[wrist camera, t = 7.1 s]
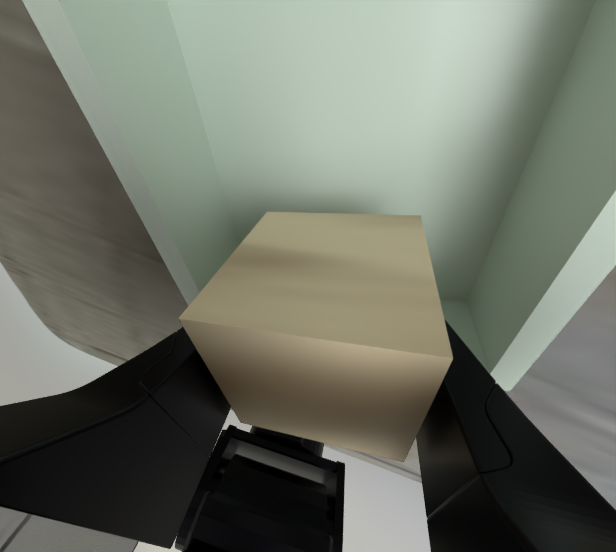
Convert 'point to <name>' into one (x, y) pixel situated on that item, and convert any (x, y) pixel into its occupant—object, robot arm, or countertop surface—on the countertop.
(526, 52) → the tote
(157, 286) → the countertop surface
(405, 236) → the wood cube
